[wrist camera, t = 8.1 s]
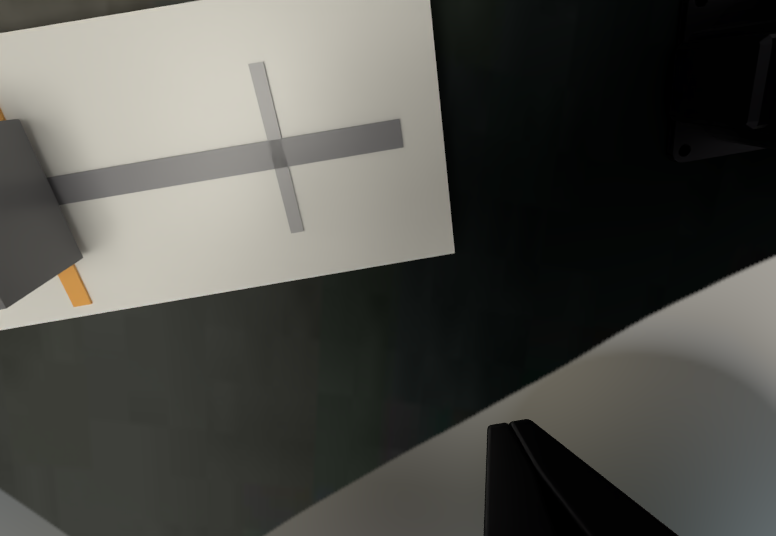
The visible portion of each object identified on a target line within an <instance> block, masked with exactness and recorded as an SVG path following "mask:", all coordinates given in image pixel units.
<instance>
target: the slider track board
mask: <svg viewBox="0 0 776 536" xmlns="http://www.w3.org/2000/svg"><path fill="white" fill-rule="evenodd" d="M12 119H19V120H20V122H21V124H22V126H23V129H24V131H25V133H26V135H27V137H28V139H29V141H30V144H31V146H32V148H33V150H34V152H35V154H36V157H37V159H38V161H39V163H40V165H41V167H42V170H43V172H44V174H45V176H46V178H47V180H48V182H49V185H50V187H51V189H52V191H53V193H54V195H55V198H56V200H57V202H58V204H59V206H60V208H61V210H62V213H63V215H64V217H65V219H66V221H67V223H68V226H69V228H70V230H71V232H72V234H73V236H74V239H75V241H76V243H77V245H78V247H79V249H80V251H81V254H82V256H83V258H82V259H81V260H79V261H78V262H76V263H75V264H73V265H72V266H70V267H69V268H67V269H66V270H64V271H63V272H61V273H60V274H58V275H57V276H55V277H54V278H52V279H51V280H49V281H47V282H46V283H44V284H43V285H41V286H40V287H38V288H37V289H35V290H34V291H32V292H31V293H29V294H28V295H26V296H25V297H23V298H22V299H20V300H19V301H17V302H16V303H14V304H13V305H11V306H10V307H8V308H7V309H1V310H0V330H4V329H10V328H16V327H22V326H28V325H34V324H40V323H45V322H51V321H57V320H63V319H69V318H75V317H81V316H87V315H93V314H99V313H104V312H110V311H116V310H122V309H128V308H134V307H140V306H146V305H152V304H157V303H163V302H169V301H175V300H181V299H187V298H193V297H199V296H205V295H211V294H216V293H222V292H228V291H234V290H240V289H246V288H252V287H258V286H264V285H270V284H275V283H281V282H287V281H293V280H299V279H305V278H311V277H317V276H323V275H328V274H334V273H340V272H346V271H352V270H358V269H364V268H370V267H376V266H382V265H387V264H393V263H399V262H405V261H411V260H417V259H423V258H429V257H435V256H441V255H446V254H452V253H455V250H454V240H453V229H452V219H451V209H450V199H449V189H448V179H447V169H446V158H445V148H444V138H443V128H442V118H441V108H440V98H439V87H438V77H437V67H436V57H435V47H434V37H433V27H432V16H431V6H430V0H200V1H194V2H187V3H181V4H175V5H169V6H163V7H157V8H151V9H145V10H139V11H133V12H127V13H121V14H114V15H108V16H102V17H96V18H90V19H84V20H78V21H72V22H66V23H60V24H54V25H48V26H42V27H35V28H29V29H23V30H17V31H11V32H5V33H0V121H3V120H12Z"/></svg>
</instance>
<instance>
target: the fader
mask: <svg viewBox="0 0 776 536" xmlns="http://www.w3.org/2000/svg"><path fill="white" fill-rule="evenodd" d="M82 258H83V256H82V254H81V251H80V249H79V247H78V245H77V243H76V241H75V239H74V236H73V234H72V232H71V230H70V228H69V226H68V223H67V221H66V219H65V217H64V215H63V213H62V210H61V208H60V206H59V204H58V202H57V200H56V198H55V195H54V193H53V191H52V189H51V187H50V185H49V182H48V180H47V178H46V176H45V174H44V172H43V170H42V167H41V165H40V163H39V161H38V159H37V157H36V154H35V152H34V150H33V148H32V146H31V144H30V141H29V139H28V137H27V135H26V133H25V131H24V129H23V126H22V124H21V122H20V120H19V119H12V120H3V121H0V310H1V309H7V308H8V307H10V306H11V305H13V304H14V303H16V302H17V301H19V300H20V299H22V298H23V297H25V296H26V295H28V294H29V293H31V292H32V291H34V290H35V289H37V288H38V287H40V286H41V285H43V284H44V283H46V282H47V281H49V280H51V279H52V278H54V277H55V276H57V275H58V274H60V273H61V272H63V271H64V270H66V269H67V268H69V267H70V266H72V265H73V264H75V263H76V262H78V261H79V260H81V259H82Z"/></svg>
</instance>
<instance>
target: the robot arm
mask: <svg viewBox="0 0 776 536" xmlns="http://www.w3.org/2000/svg"><path fill="white" fill-rule="evenodd" d="M669 116H670V122H669V132H668V143H667V156H668V158H669V159H670V160H672V161H676V162H689V161H695V160H701V159H707V158H713V157H719V156H725V155H730V154H736V153H742V152H748V151H754V150H760V149H766V148H768V149H774V150H776V0H701V2H700V4H699V6H698V7H697V6H696V4H695V0H682V2H681V11H680V21H679V31H678V41H677V49H676V51H675V57H674V67H673V77H672V88H671V98H670V108H669ZM682 145H684V150H683V152H682V153H681V154H679V149H680V147H681V146H682ZM484 513H485V514H484V536H678V535H677V534H676V533H674V532H673V531H672V530H671V529H669V528H668V527H667V526H665V525H664V524H663V523H662V522H660V521H659V520H658V519H656V518H655V517H654V516H653V515H651V514H650V513H649V512H648V511H646V510H645V509H644V508H643V507H641V506H640V505H639V504H637V503H636V502H635V501H634V500H632V499H631V498H630V497H628V496H627V495H626V494H625V493H623V492H622V491H621V490H620V489H618V488H617V487H616V486H614V485H613V484H612V483H611V482H609V481H608V480H607V479H605V478H604V477H603V476H601V475H600V474H599V473H598V472H597V471H595V470H594V469H593V468H591V467H590V466H589V465H588V464H586V463H585V462H584V461H583V460H581V459H580V458H579V457H577V456H576V455H575V454H574V453H572V452H571V451H570V450H568V449H567V448H566V447H565V446H563V445H562V444H561V443H560V442H558V441H557V440H556V439H554V438H553V437H552V436H550V435H549V434H548V433H547V432H545V431H544V430H543V429H542V428H540V427H539V426H538V425H537V424H535V423H534V422H533V421H531V420H529V419H524V420H518V421H512V422H510V423H509V424H507V423H501V424H494V425H490V426H488V429H487V455H486V483H485V511H484Z"/></svg>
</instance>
